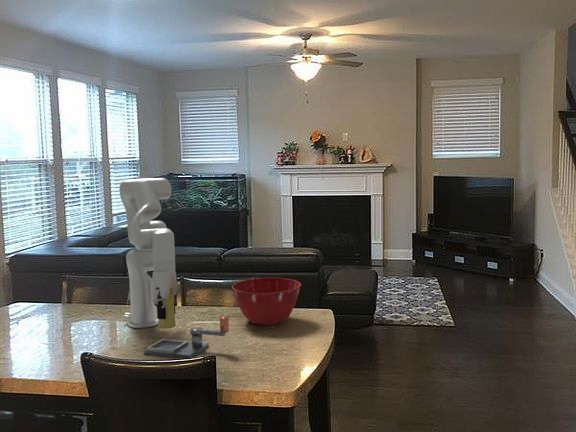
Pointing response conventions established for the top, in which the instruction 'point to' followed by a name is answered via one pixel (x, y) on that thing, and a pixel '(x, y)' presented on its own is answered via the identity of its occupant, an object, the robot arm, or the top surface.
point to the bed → (177, 348)
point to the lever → (222, 332)
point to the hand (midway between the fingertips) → (166, 316)
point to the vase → (168, 312)
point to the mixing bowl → (266, 299)
